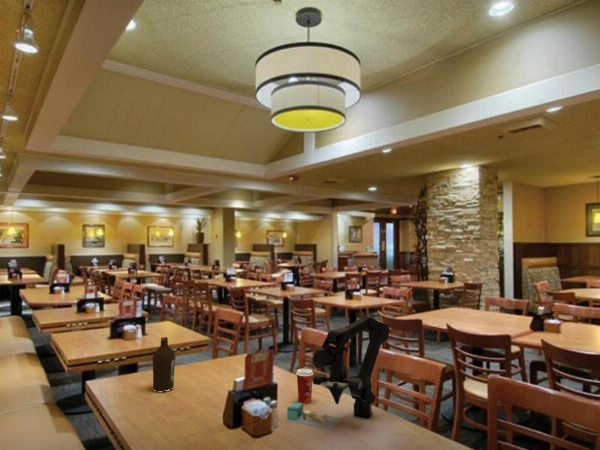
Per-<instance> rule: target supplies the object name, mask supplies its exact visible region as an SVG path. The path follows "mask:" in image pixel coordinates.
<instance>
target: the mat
mask: <svg viewBox="0 0 600 450" xmlns="http://www.w3.org/2000/svg"><path fill="white" fill-rule="evenodd" d="M342 419H343V418H342V417H337V416H332V415H327V414H326V421H325V422H324V423H322V422H316V421H310V420H305V419H303V415H298V419H297V420H292V419H287V418H286V419H285V420H284V422H286V423H293V424H297V425H301V426H302V425H303V426H308V427H314V428H318V429H319V428H320V429H326V430H331V431H332V430H334V428H335V427H336V426H337V425H338V424H339V423H340V421H341V420H342Z"/></svg>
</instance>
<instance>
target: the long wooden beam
mask: <svg viewBox="0 0 600 450" xmlns="http://www.w3.org/2000/svg"><path fill="white" fill-rule="evenodd" d="M326 415H327V413H323V412H319V411H312V410H307V409H306V410H303V419H305V420H310V421H316V422H322V423H324V422H325V421H326Z"/></svg>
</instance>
